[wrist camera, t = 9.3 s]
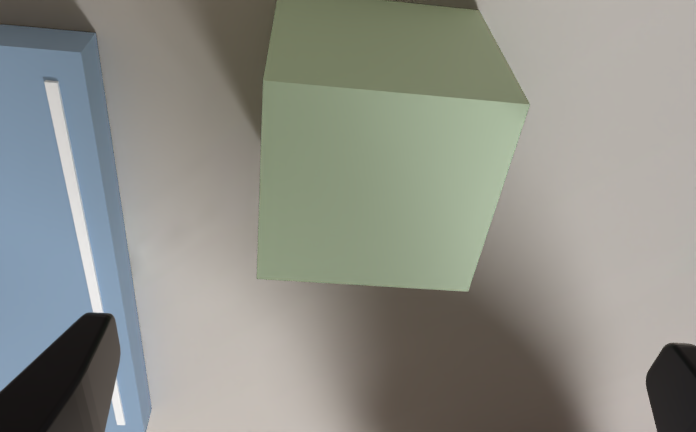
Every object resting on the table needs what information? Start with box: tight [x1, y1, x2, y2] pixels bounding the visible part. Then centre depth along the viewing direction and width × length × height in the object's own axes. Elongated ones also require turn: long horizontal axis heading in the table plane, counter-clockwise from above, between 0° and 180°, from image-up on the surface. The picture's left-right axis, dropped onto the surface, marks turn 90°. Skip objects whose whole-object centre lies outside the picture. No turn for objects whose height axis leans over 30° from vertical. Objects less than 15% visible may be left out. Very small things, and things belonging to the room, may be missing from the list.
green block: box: [257, 0, 530, 292], centre depth 15 cm, size 5×5×5 cm
